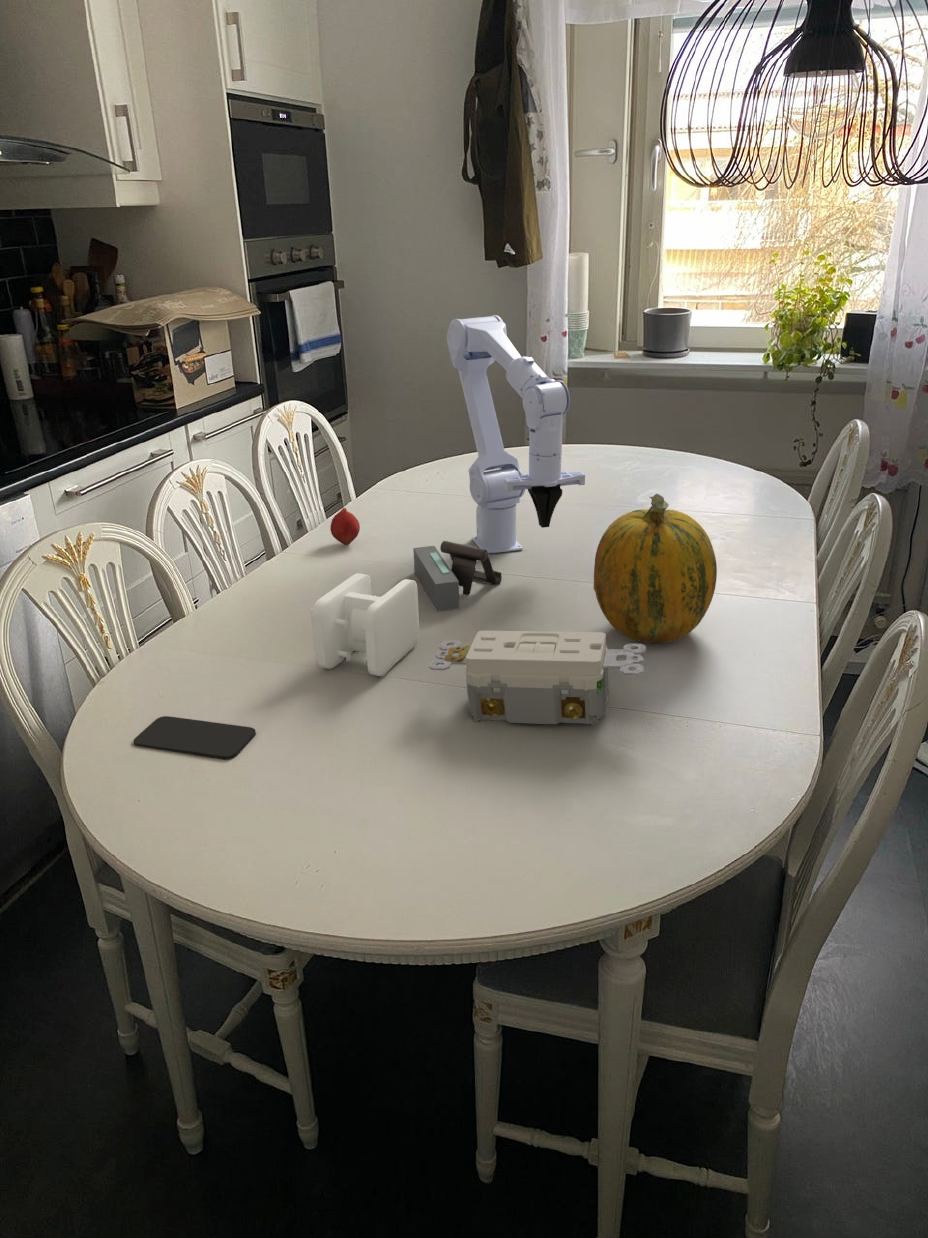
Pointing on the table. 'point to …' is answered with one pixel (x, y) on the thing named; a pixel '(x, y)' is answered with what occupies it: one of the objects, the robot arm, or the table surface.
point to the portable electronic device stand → (470, 565)
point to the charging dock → (436, 578)
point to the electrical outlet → (538, 674)
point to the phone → (195, 737)
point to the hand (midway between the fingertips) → (544, 525)
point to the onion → (344, 527)
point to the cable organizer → (365, 624)
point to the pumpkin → (655, 573)
